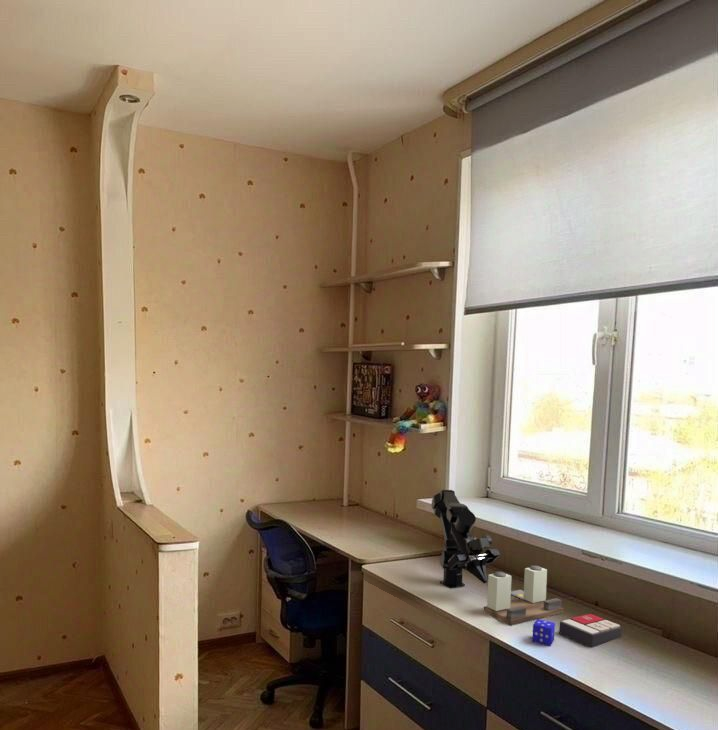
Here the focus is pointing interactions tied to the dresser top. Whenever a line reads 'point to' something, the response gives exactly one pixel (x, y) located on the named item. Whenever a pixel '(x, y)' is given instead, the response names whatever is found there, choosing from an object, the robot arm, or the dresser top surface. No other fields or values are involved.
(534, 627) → the die
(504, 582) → the button
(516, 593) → the card
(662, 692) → the dresser top surface
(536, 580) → the button
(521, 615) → the wooden base plate
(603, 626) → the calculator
